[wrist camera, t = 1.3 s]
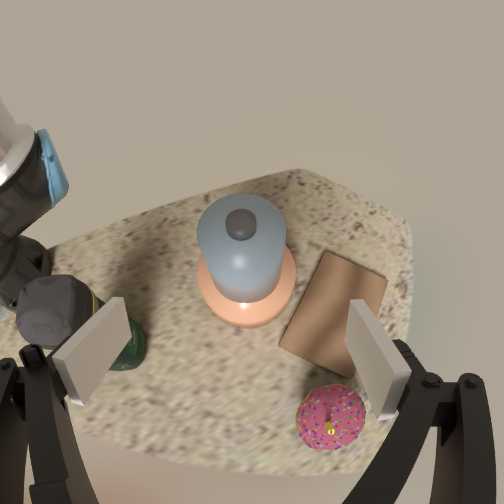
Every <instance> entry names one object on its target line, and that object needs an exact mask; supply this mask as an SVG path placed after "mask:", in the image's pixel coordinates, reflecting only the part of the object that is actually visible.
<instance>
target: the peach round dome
mask: <svg viewBox="0 0 504 504" xmlns="http://www.w3.org/2000/svg"><path fill="white" fill-rule="evenodd" d="M295 280H296V266H295V261H294V258H293V256H292V254H291V252H290V250H289V249H288V247H287V246H286V245H285V248H284V255H283V262H282V269H281V275H280V280H279V283H278V285H277V287H276V288H275V290H274V291H273V292H272V293H271V294H270V295H269V296H267V297H266V298H264V299H262V300H260V301H257V302H253V303H238V302H234V301H231V300H229V299H227V298H226V297H224V296H223V295H222V294H221V293H220V292H219V291H218V290H217V288H216V287H215V285H214V282H213V280H212V277H211V275H210V272H209V269H208V267H207V264H206V261H205V259H204V256H203V254H202V255H201V258H200V260H199V263H198V268H197V281H198V286H199V289H200V291H201V293H202V295H203V297H204V299H205V301H206V303H207V305H208V307H209V308H210V310H211V311H212V312H213V313H214V315H215V316H216V317H218V318H219V319H220V320H221V321H223V322H225V323H227V324H229V325H231V326H234V327H239V328H256V327H261V326H263V325H266V324H268V323H270V322H272V321H273V320H275V319H276V318H277V317H279V316H280V315H281V314H282V312H283V311H284V310H285V309H286V307H287V305H288V303H289V301H290V298H291V295H292V291H293V288H294V284H295Z"/></svg>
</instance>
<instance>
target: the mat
mask: <svg viewBox="0 0 504 504" xmlns="http://www.w3.org/2000/svg"><path fill="white" fill-rule="evenodd" d="M387 283H388V280H386V279H384V278H382V277H380V276H378V275H376V274H374V273H372V272H370V271H367V270H365V269H363V268H361V267H359V266H357V265H355V264H353V263H350V262H348V261H346V260H344V259H342V258H340V257H338V256H335V255H333V254H331V253H329V252H327V251H325V253H324V255H323V257H322V259H321V261H320V263H319V266H318V268H317V270H316V272H315V274H314V276H313V278H312V280H311V282H310V284H309V286H308V288H307V290H306V292H305V295H304V297H303V299H302V301H301V303H300V305H299V307H298V309H297V310H296V312H295V314H294V316H293V318H292V320H291V322H290V324H289V326H288V328H287V330H286V332H285V334H284V336H283V337H282V339H281V341H280V343H279V345H278V347H280V348H282V349H284V350H287V351H289V352H291V353H293V354H295V355H297V356H299V357H301V358H303V359H305V360H307V361H310V362H312V363H314V364H316V365H318V366H320V367H323V368H325V369H327V370H329V371H332V372H334V373H336V374H338V375H341V376H343V377H345V378H347V379H351V378H352V376H353V373H354V371H355V369H356V367H355V364H354V362H353V360H352V357H351V355H350V353H349V350H348V348H347V346H346V343H345V341H344V340H345V333H346V327H347V320H348V313H349V306H350V300H352V299H363V300H364V301H365V303H366V304H367V305H368V307H369V308H370V310H371V311H372V312H373V314H374V315H375V317H376V316H377V313H378V310H379V308H380V305H381V302H382V299H383V296H384V293H385V290H386V286H387Z"/></svg>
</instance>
